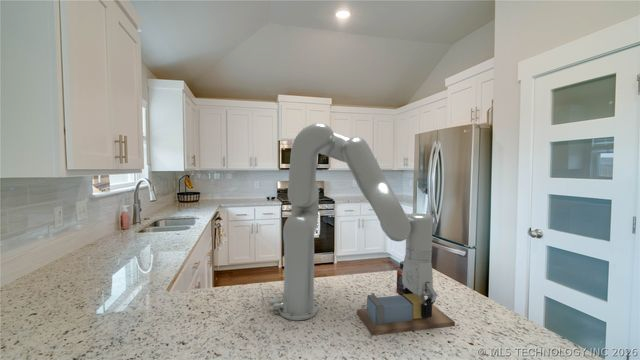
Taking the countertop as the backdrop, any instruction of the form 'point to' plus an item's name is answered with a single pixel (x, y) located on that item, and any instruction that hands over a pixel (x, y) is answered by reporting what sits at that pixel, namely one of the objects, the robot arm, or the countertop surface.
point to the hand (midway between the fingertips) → (416, 308)
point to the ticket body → (389, 309)
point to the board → (407, 323)
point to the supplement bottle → (400, 279)
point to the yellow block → (415, 304)
